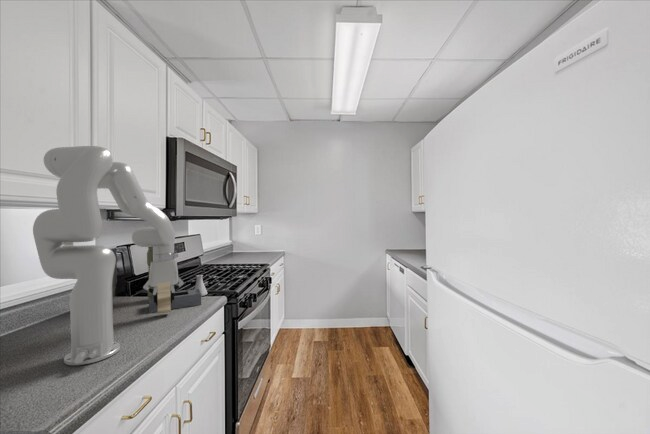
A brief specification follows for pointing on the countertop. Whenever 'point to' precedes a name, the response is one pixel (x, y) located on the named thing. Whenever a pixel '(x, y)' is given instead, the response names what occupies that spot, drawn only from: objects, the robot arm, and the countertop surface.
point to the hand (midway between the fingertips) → (164, 302)
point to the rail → (179, 300)
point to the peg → (164, 297)
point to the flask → (200, 285)
